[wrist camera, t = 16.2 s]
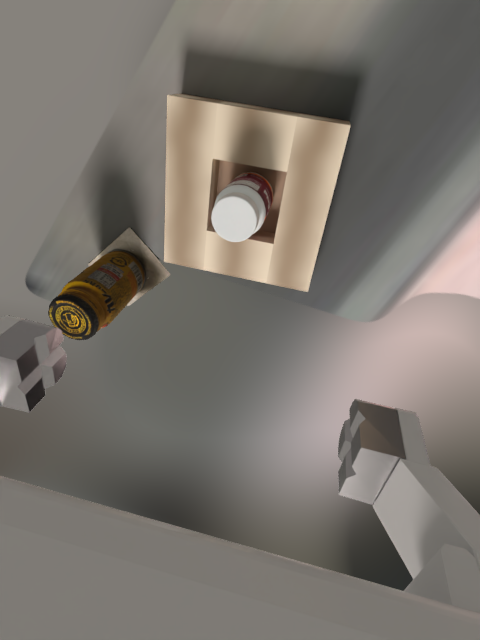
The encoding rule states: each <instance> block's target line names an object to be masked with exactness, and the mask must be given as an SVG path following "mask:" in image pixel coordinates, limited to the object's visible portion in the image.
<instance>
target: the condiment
mask: <svg viewBox="0 0 480 640" xmlns="http://www.w3.org/2000/svg"><path fill="white" fill-rule="evenodd" d="M129 250H130V251H129ZM132 250H134V251H132ZM88 265H89V267H88V268H86V269H85V270H84V271H83V272H82V273H81V274H79V275H78V276H77V277H76V278H74V279H73V280H71V281H70V282H68V284H67V285H65V287H64V288H63V290H62V292H61V293H60V294H59V295H58V297H56V298H55V299H53V301H52V302H51V304H50V306H49V311H48V314H49V317H50V320H51V321H52V323H53V325H54V326H55V327H57V328H59V329H60V330H62V334H63V335H65V336H67V337H69V338H71V339H76V340H86V339H89V338H90V337H92V336H93V335H95V333H96V332H97V331H98V330H100V329H101V328H103V327H105V326H107V325H108V324H110V323H111V322H112V321H113V319H114V318H115V317H116V316H117V315H118V314H119V313H120V311H121V310H122V309H123V308H125V306H126V305H127V306H129V305H131V304H132V303H133V302H135V301H136V300H137V299H139V298H140V297H141V296H142V295H144V294H145V293H146V292H148V291H149V290H151V289H152V288H153V287H155V286H156V285H158V284H159V283H160V282H162V281H163V280H164V279H166V278H167V277H168V276H170V273H169V272H168V271H167V270H166V268H165V267H164V266H163V265H162V263H161V262H160V261H159V260H158V259H157V257H156V256H155V255H154V254H153V253H152V252H151V251H150V249H149V248H148V246H146V245H145V244H144V243H143V242H142V241H141V239H140V238H139V237H138V236H137V235H136V234H135V233H134V232H133V231H132V229H131V228H130V227H129V228H128V229H127V230H126V231H125V232H123V233H122V234H121V235H120V236H119V237H118V238H117V239H116V240H115V241H113V242H112V243H111V244H110V245H109V246H108V247H107V248H106V249H105V250H103V251H102V252H101V253H100V254H99V255H98V256H97V257H96V258H94V259H93V260H92V261H91V262H90V263H89V264H88Z"/></svg>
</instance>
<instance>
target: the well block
mask: <svg viewBox="0 0 480 640" xmlns="http://www.w3.org/2000/svg"><path fill="white" fill-rule="evenodd" d="M350 127H351V125H350V122H349V121H345V120H339V119H333V118H327V117H321V116H315V115H309V114H303V113H297V112H291V111H285V110H278V109H272V108H266V107H260V106H254V105H248V104H242V103H236V102H230V101H224V100H218V99H212V98H206V97H200V96H194V95H187V94H173V95H167V138H166V191H165V243H164V262H168V263H173V264H178V265H182V266H187V267H192V268H197V269H201V270H206V271H211V272H216V273H220V274H225V275H230V276H235V277H239V278H244V279H249V280H253V281H258V282H263V283H268V284H272V285H277V286H282V287H287V288H291V289H296V290H301V291H306V292H308V289H309V285H310V281H311V277H312V273H313V269H314V265H315V262H316V258H317V254H318V250H319V246H320V242H321V239H322V235H323V231H324V227H325V223H326V219H327V215H328V212H329V208H330V204H331V200H332V196H333V192H334V188H335V185H336V181H337V177H338V173H339V169H340V165H341V161H342V158H343V154H344V150H345V146H346V142H347V138H348V135H349V131H350ZM247 172H253V173H257V174H260V175H262V176H263V177H264V178H266V179H267V180H268V182H269V183H270V185H271V187H272V190H273V203H272V206H271V208H270V210H269V212H268V215H267V216H266V219H265V221H264V223H263V224H262V226H261V227H260V229H259V230H258V231H257V232H256V233H254V234H252V235H251V236H250V237H249V238H248V239H246V240H244V241H241V242H231V241H227V240H225V239H223V238H222V237H220V236H219V235H218V234H217V232H216V231H215V229H214V227H213V225H212V220H211V215H212V210H213V208H214V204H215V201H216V198H217V196H218V194H219V193H220V192H221V191H222V190H223V189H224V188H225V187H226V186H227V185H228V184H229V183H230V182H231V181H232V180H234V179H235V178H236V177H237V176H239V175H240V174H243V173H247Z"/></svg>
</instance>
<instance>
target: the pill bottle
mask: <svg viewBox="0 0 480 640" xmlns="http://www.w3.org/2000/svg"><path fill="white" fill-rule="evenodd" d="M272 203H273V190H272V187H271V185H270V183H269V182H268V180H267V179H266V178H264V177H263V176H262V175H260V174H257V173H253V172H247V173H243V174H240V175H239V176H237V177H236V178H235V179H234V180H232V181H231V182H230V183H229V184H228V185H227V186H226V187H225V188H224V189H223V190H222V191H221V192H220V193H219V194H218V196H217V198H216V201H215V204H214V208H213V210H212V215H211V220H212V225H213V227H214V229H215V231H216V232H217V234H218V235H219V236H220V237H222V238H223V239H225V240H227V241H231V242H241V241H244V240H246V239H248V238H249V237H250V236H251V235H252V234H254V233H256V232H257V231H258V230H259V229H260V227H261V226H262V224H263V223H264V221H265V219H266V216H267V215H268V212H269V210H270V208H271V206H272Z"/></svg>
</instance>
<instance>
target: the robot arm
mask: <svg viewBox="0 0 480 640" xmlns="http://www.w3.org/2000/svg"><path fill="white" fill-rule="evenodd" d="M63 341H64V339H63V334H62V330H60V329H59V328H57V327H53V326H49V325H46V324H42V323H38V322H34V321H30V320H27V319H21V318H17V317H14V316H10V315H9V316H3V317H2V318H0V406H4V407H8V408H12V409H17V410H21V411H25V412H31V410H32V409H33V408H34V407H35V406H36V405H37V404H38V403H39V402H40V401H41V399H42V398H43V397H44V396H45V388H48V387H50V386H52V385H55V384H56V383H57V382H58V381H59V379H60V378H61V377H62V375H63V373H64V370H65V368H66V362H67V357H66V352H65V351H64V350H63V349H62V347H61V346H60V344H61V343H62V342H63ZM338 457H339V458H340V460H341V461H342V464H341V467H340V469H339V471H338V477H339V478H338V479H339V495H341V496H344V497H348V498H351V499H355V500H358V501H361V502H365V503H368V504H372V505H373V508H374V510H375V511H376V513H377V515H378V517H379V519H380V520H381V522H382V524H383V526H384V527H385V529H386V531H387V533H388V535H389V537H390V538H391V540H392V542H393V544H394V545H395V547H396V549H397V551H398V552H399V554H400V556H401V558H402V559H403V561H404V563H405V565H406V567H407V569H408V570H409V572H410V574H411V576H412V577H413V579H414V580H413V581H412V582H411V583H410V584H409V585H408V587H407V588H406V589H405V590H404V591H401V590H397V589H394V588H390V587H387V586H383V585H380V584H376V583H373V582H369V581H366V580H362V579H359V578H355V577H352V576H348V575H345V574H341V573H338V572H335V571H331V570H328V569H324V568H320V567H317V566H313V565H310V564H307V563H303V562H299V561H296V560H292V559H289V558H286V557H282V556H278V555H275V554H272V553H268V552H265V551H261V550H258V549H254V548H251V547H247V546H244V545H240V544H237V543H233V542H230V541H226V540H222V539H219V538H215V537H212V536H209V535H205V534H202V533H198V532H195V531H191V530H187V529H184V528H180V527H177V526H174V525H170V524H167V523H163V522H159V521H156V520H152V519H149V518H146V517H142V516H139V515H135V514H132V513H128V512H125V511H121V510H118V509H114V508H111V507H107V506H104V505H100V504H97V503H93V502H90V501H86V500H83V499H79V498H76V497H72V496H69V495H65V494H62V493H58V492H55V491H51V490H48V489H44V488H41V487H37V486H34V485H31V484H27V483H23V482H20V481H16V480H13V479H10V478H6V477H3V476H0V640H480V515H479V514H478V513H477V512H476V510H475V509H474V508H473V507H472V506H471V505H470V504H469V503H468V502H467V500H466V499H465V498H464V497H463V496H462V495H461V494H460V493H459V492H458V491H457V490H456V488H455V487H454V486H453V485H452V484H451V483H450V482H449V480H448V479H447V478H446V477H445V476H444V475H443V474H442V473H441V472H440V470H439V469H438V468H436V467H432V466H431V465H430V461H429V457H428V453H427V449H426V445H425V441H424V437H423V434H422V430H421V426H420V422H419V418H418V415H417V414H416V413H415V412H412V411H407V410H403V409H398V408H392V407H388V406H383V405H379V404H375V403H370V402H366V401H362V400H357V399H355V400H354V401H353V403H352V405H351V407H350V419H348V420H346V421H345V422H344V424H343V427H342V430H341V434H340V438H339V447H338Z"/></svg>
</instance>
